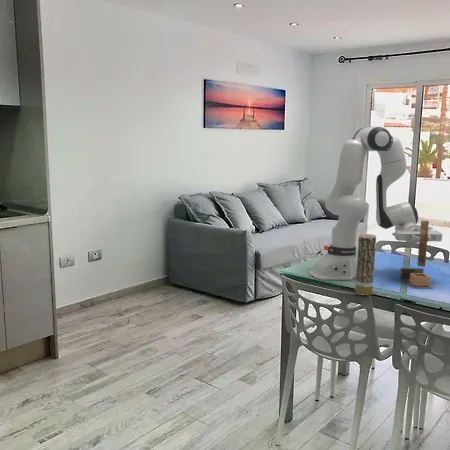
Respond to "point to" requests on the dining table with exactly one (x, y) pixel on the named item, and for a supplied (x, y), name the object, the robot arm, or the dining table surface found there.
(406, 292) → the dining table surface
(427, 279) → the collar
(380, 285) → the dining table surface
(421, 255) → the dowel
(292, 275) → the dining table surface
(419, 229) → the robot arm
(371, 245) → the bark textured cylinder
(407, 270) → the rail
